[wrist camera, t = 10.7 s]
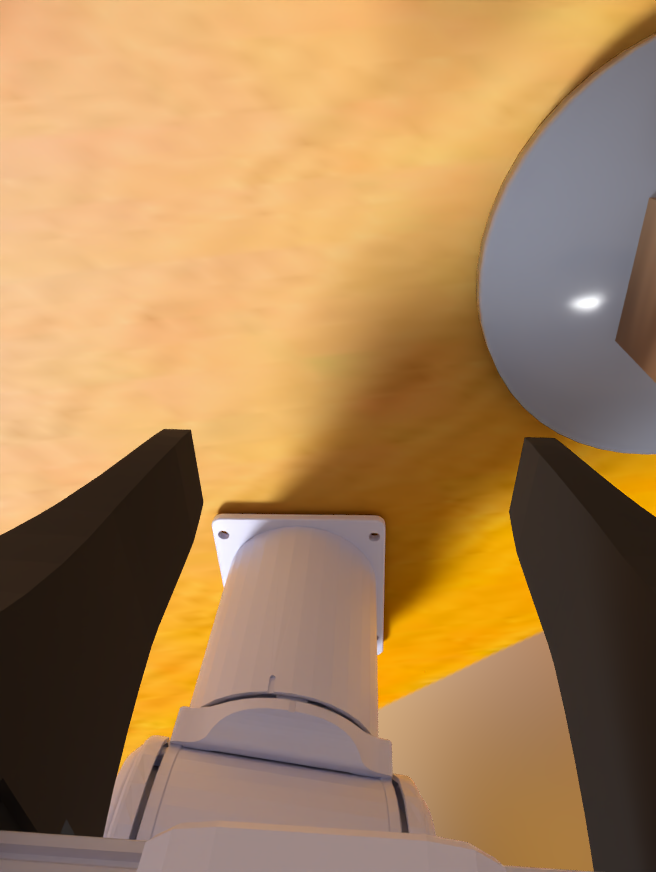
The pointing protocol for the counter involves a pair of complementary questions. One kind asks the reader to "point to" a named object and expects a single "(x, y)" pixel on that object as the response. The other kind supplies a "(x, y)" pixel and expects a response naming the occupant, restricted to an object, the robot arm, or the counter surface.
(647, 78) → the plate
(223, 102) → the counter surface
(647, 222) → the walnut stool block
